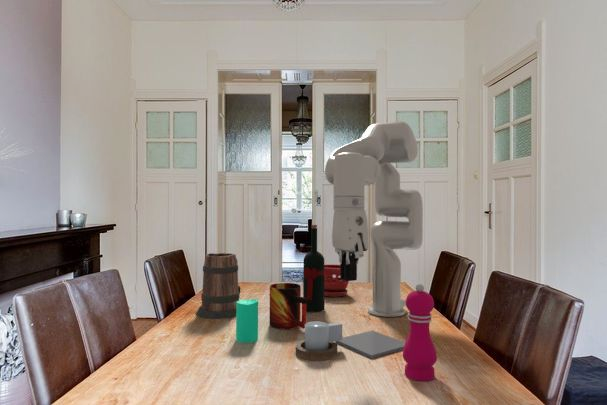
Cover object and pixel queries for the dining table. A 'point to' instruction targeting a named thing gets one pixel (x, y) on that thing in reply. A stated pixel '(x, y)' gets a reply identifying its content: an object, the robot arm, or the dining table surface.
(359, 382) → the dining table surface
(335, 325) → the jug
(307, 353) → the stand
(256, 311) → the candle
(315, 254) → the wine bottle
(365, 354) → the tile
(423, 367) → the pepper mill
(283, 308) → the mug
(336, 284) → the plant pot
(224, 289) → the tankard
